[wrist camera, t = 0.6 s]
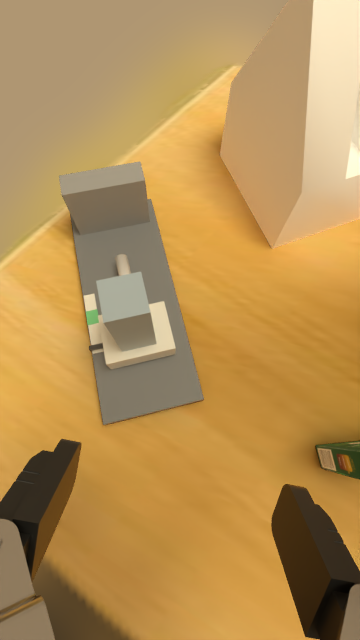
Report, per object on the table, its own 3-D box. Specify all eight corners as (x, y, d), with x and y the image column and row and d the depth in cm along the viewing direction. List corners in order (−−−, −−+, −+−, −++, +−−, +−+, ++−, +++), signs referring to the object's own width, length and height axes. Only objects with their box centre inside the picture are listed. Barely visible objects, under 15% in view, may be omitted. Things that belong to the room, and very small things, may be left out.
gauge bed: (151, 205, 48) (146, 154, 39) (202, 400, 39) (211, 390, 30) (73, 220, 47) (49, 170, 38) (105, 425, 37) (84, 422, 28)
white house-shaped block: (219, 155, 52) (256, -73, 29) (300, 132, 54) (398, -98, 31) (271, 249, 46) (372, 59, 23) (360, 218, 48) (538, 16, 25)
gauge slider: (151, 257, 43) (142, 188, 31) (175, 354, 39) (176, 317, 26) (78, 272, 42) (39, 207, 30) (94, 373, 38) (56, 345, 25)
